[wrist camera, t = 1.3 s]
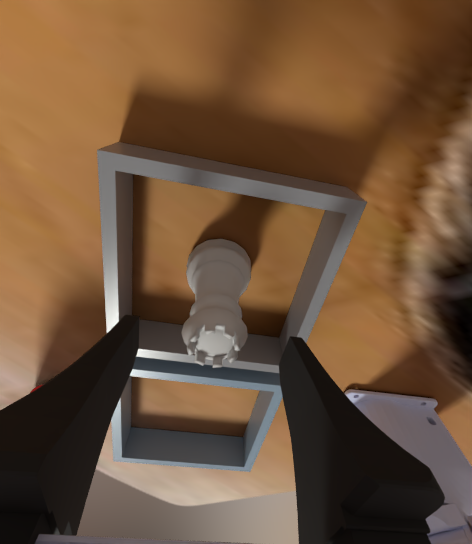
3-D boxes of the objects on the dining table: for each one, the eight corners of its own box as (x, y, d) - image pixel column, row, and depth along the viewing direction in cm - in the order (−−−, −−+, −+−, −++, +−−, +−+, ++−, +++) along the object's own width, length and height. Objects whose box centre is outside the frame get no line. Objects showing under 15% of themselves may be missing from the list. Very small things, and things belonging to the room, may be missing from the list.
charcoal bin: (347, 187, 18) (367, 202, 15) (285, 345, 24) (292, 374, 22) (118, 141, 16) (97, 149, 13) (121, 324, 23) (107, 353, 20)
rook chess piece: (187, 288, 21) (167, 378, 14) (187, 232, 19) (163, 308, 12) (247, 292, 21) (255, 382, 15) (254, 238, 19) (268, 314, 12)
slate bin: (281, 357, 25) (287, 386, 22) (248, 441, 32) (250, 471, 29) (121, 337, 24) (108, 366, 21) (123, 430, 30) (113, 461, 28)
